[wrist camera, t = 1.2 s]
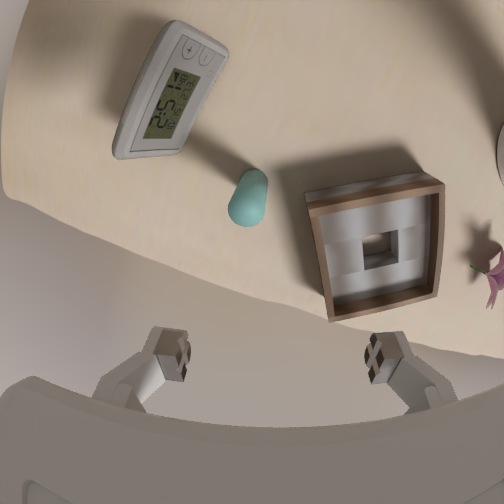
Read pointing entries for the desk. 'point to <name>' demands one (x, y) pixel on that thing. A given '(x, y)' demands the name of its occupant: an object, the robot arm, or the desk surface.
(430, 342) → the desk surface
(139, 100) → the digital clock
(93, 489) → the robot arm
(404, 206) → the bore box
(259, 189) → the peg
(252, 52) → the desk surface
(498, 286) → the lily
